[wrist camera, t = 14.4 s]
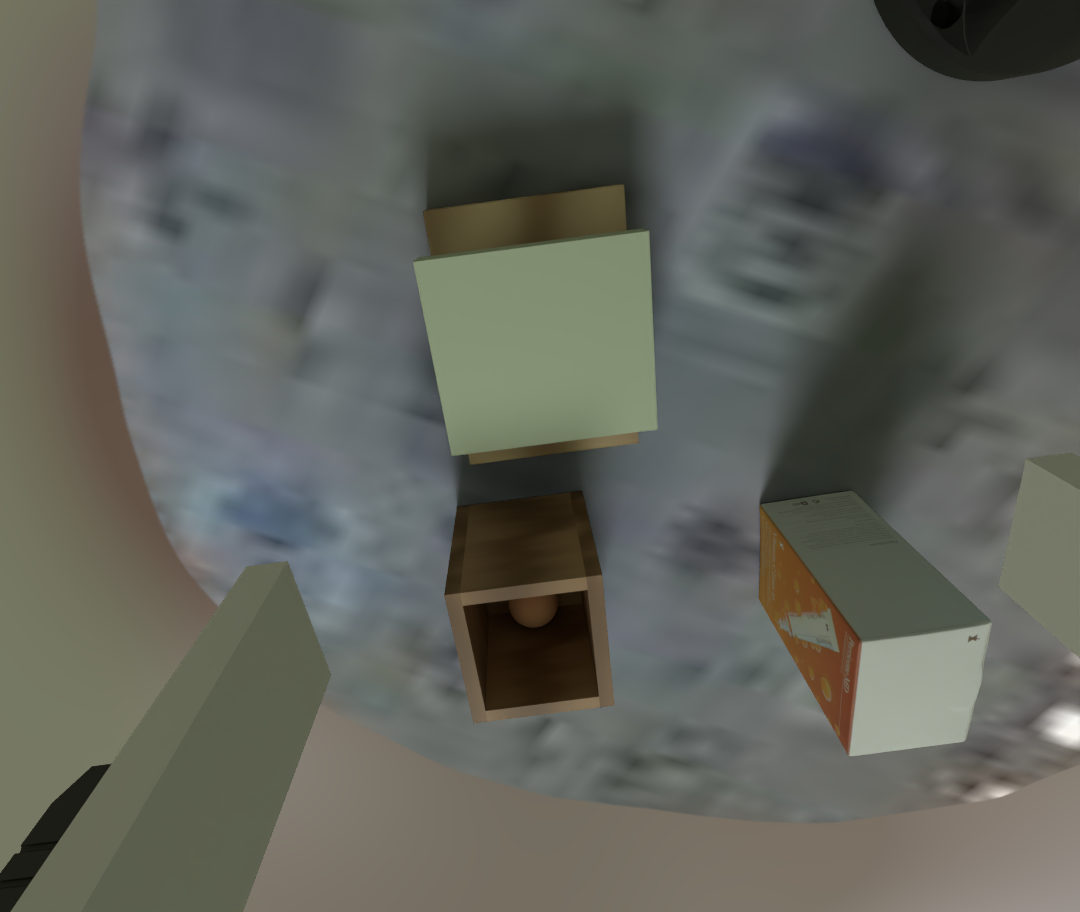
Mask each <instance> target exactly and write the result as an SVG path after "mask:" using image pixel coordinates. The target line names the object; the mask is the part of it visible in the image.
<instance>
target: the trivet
mask: <svg viewBox="0 0 1080 912" xmlns="http://www.w3.org/2000/svg"><path fill="white" fill-rule="evenodd" d="M423 215H424V220H425V225H426V231H427V236H428V242H429V247H430V252H431V256H435V255H442V254H450V253H457V252H465V251H473V250H480V249H488V248H496V247H503V246H511V245H518V244H526V243H534V242H541V241H549V240H556V239H564V238H572V237H579V236H587V235H594V234H602V233H610V232H617V231H625V230H627V227H626V209H625V191H624V185H621V184H617V185H610V186H602V187H595V188H587V189H579V190H572V191H564V192H557V193H549V194H542V195H534V196H526V197H519V198H511V199H504V200H496V201H488V202H481V203H473V204H466V205H458V206H450V207H443V208H435V209H428V210H425V211H423ZM634 443H639V440H638V432H634V433H626V434H619V435H611V436H603V437H595V438H588V439H580V440H572V441H565V442H557V443H549V444H541V445H534V446H526V447H518V448H511V449H503V450H495V451H488V452H480V453H472V454H468V456H469V461H470V465H472V464H480V463H488V462H495V461H503V460H511V459H519V458H526V457H534V456H542V455H549V454H557V453H565V452H573V451H580V450H588V449H596V448H603V447H611V446H619V445H627V444H634Z"/></svg>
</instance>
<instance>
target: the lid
mask: <svg viewBox="0 0 1080 912" xmlns="http://www.w3.org/2000/svg"><path fill="white" fill-rule="evenodd" d="M413 264H414V269H415V274H416V279H417V284H418V289H419V294H420V299H421V304H422V309H423V314H424V319H425V324H426V329H427V334H428V339H429V344H430V349H431V354H432V359H433V364H434V369H435V374H436V379H437V384H438V389H439V394H440V399H441V404H442V409H443V414H444V419H445V424H446V429H447V434H448V439H449V444H450V449H451V454H452V456H457V455H464V454H472V453H480V452H488V451H495V450H503V449H511V448H518V447H526V446H534V445H541V444H549V443H557V442H565V441H572V440H580V439H588V438H595V437H603V436H611V435H619V434H626V433H634V432H642V431H649V430H657V406H656V382H655V358H654V334H653V310H652V286H651V262H650V238H649V231H648V230H646V229H643V228H640V229H633V230H625V231H617V232H610V233H602V234H594V235H587V236H579V237H572V238H564V239H556V240H549V241H541V242H534V243H526V244H518V245H511V246H503V247H496V248H488V249H480V250H473V251H465V252H457V253H450V254H442V255H435V256H427V257H419V258H417V259H416V260H415V261H414V262H413Z"/></svg>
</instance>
